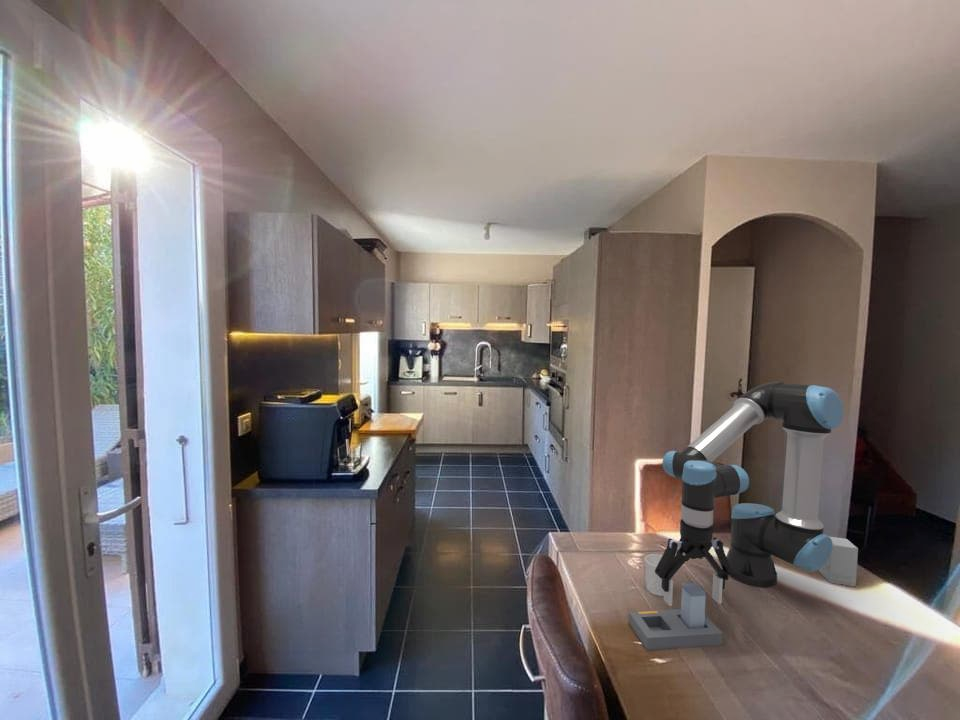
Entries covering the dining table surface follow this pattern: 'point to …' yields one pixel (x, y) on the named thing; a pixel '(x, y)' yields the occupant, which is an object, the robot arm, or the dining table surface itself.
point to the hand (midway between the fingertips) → (692, 601)
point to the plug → (693, 605)
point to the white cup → (653, 575)
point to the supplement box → (841, 563)
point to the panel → (672, 630)
